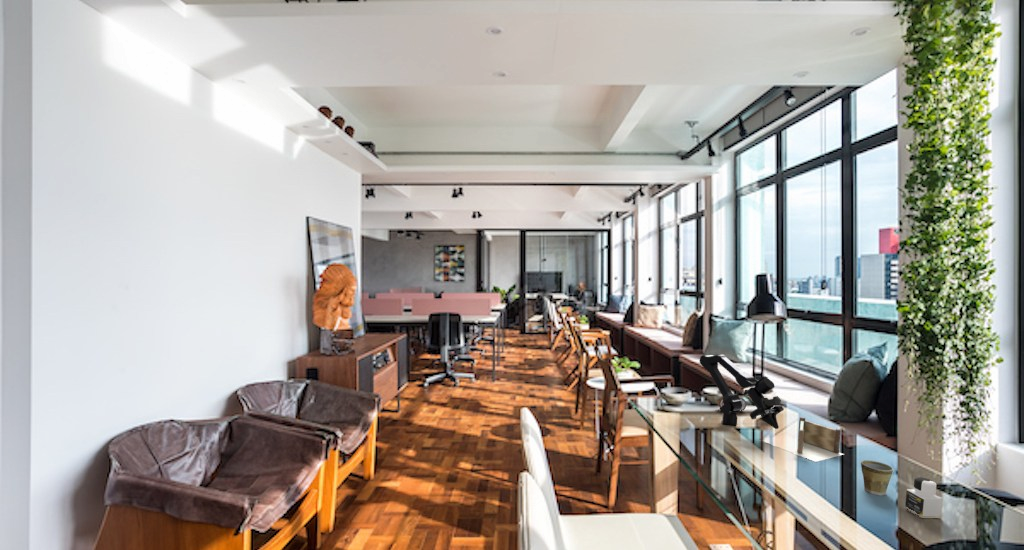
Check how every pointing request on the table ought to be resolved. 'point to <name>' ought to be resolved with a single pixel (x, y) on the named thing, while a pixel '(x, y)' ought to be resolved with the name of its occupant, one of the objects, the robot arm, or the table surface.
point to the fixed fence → (821, 435)
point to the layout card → (816, 452)
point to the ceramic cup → (876, 476)
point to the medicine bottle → (924, 498)
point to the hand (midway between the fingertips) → (777, 428)
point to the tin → (720, 401)
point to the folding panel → (800, 438)
